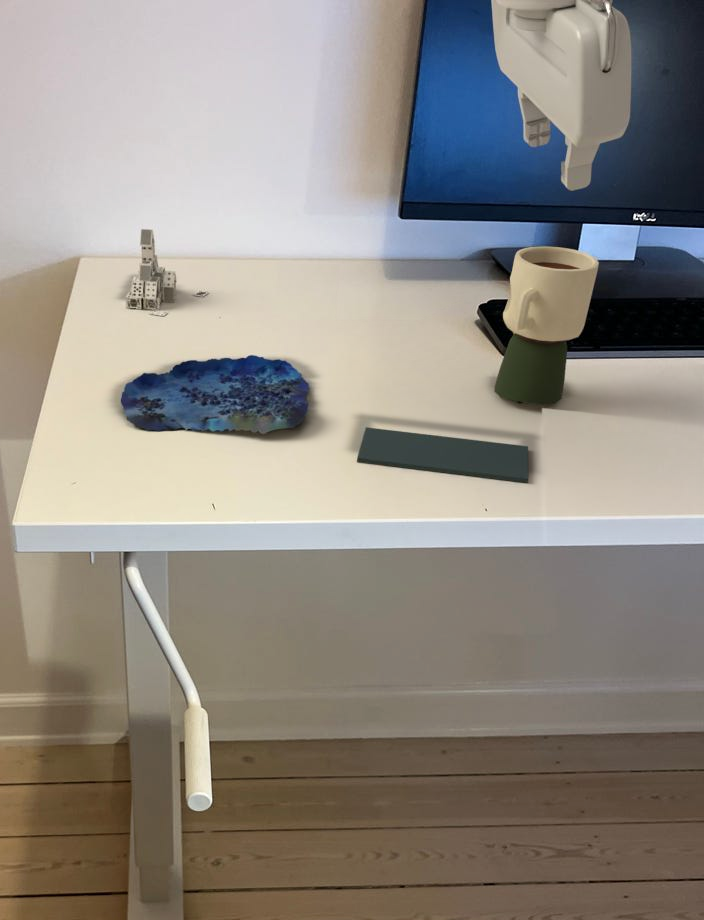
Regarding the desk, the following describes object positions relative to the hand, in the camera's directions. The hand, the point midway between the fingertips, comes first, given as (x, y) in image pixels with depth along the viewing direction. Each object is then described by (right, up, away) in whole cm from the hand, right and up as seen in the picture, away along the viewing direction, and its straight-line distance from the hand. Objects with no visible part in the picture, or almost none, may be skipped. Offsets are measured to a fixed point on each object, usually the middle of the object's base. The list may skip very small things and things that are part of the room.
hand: (555, 163), depth 79 cm
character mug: (+2, -15, +15) cm, 22 cm away
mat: (-8, -22, +5) cm, 24 cm away
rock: (-27, -16, +13) cm, 34 cm away
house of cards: (-33, +1, +34) cm, 48 cm away
